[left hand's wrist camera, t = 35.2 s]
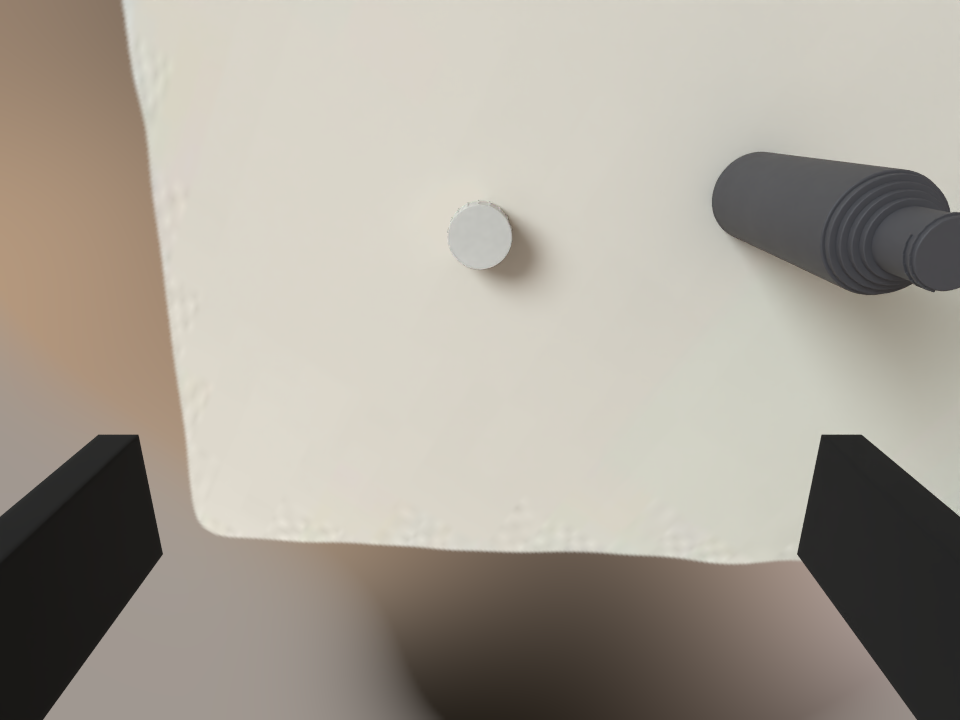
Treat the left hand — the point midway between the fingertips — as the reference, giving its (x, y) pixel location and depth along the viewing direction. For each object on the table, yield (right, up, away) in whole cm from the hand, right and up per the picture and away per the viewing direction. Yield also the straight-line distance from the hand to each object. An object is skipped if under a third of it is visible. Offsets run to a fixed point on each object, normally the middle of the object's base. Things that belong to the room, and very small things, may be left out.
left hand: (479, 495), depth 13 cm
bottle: (+18, +13, +29) cm, 36 cm away
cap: (0, +10, +28) cm, 30 cm away
